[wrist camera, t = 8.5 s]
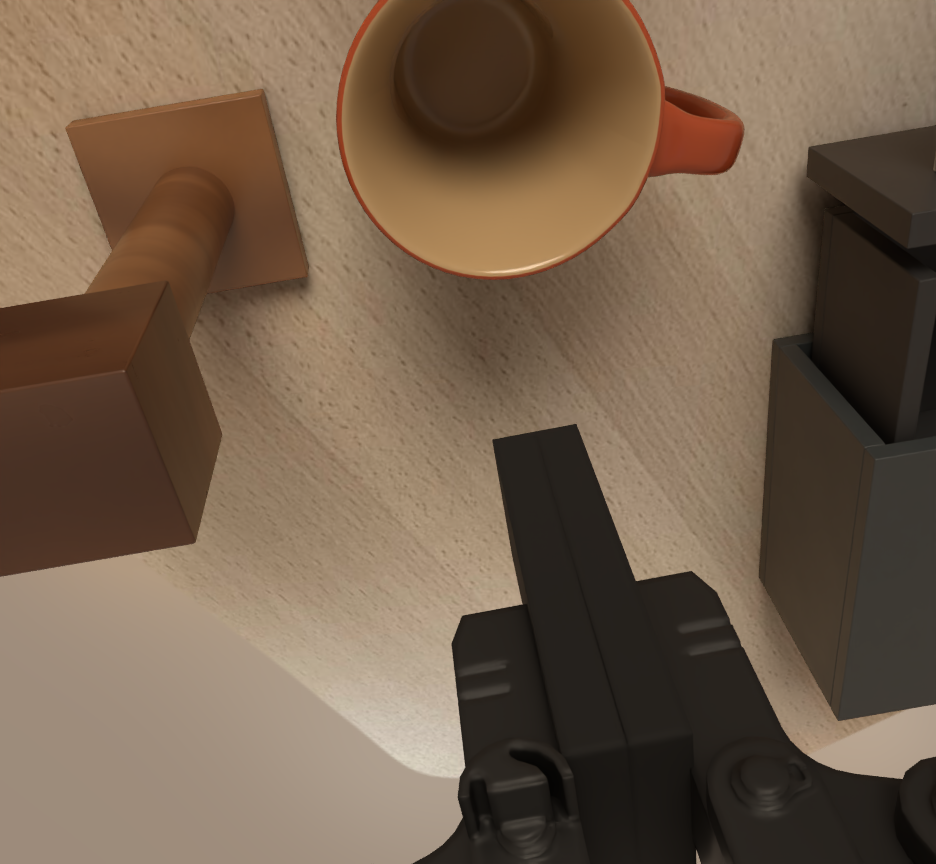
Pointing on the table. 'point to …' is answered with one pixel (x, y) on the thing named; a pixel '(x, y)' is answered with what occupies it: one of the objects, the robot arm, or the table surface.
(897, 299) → the drawer
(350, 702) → the table surface
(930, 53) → the table surface
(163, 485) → the block
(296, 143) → the table surface
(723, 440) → the table surface
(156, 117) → the post
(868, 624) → the cabinet
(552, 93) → the mug
